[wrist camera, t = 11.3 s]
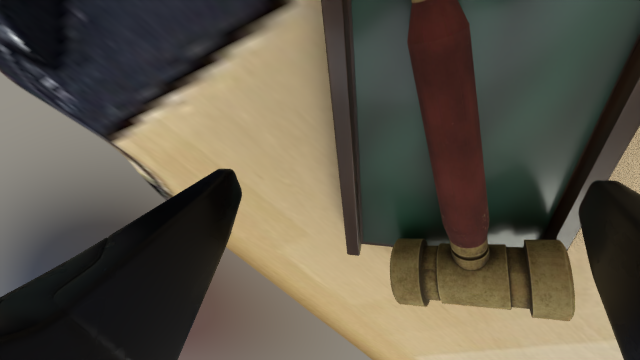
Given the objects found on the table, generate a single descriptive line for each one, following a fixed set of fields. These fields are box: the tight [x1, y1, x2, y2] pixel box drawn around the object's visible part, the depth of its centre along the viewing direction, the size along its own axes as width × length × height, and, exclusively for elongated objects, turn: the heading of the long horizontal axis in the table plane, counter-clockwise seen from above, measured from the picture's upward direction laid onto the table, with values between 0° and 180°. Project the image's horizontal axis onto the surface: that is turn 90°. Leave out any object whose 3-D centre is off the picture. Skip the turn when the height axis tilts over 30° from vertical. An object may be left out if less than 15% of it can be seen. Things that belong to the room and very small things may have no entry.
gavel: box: [390, 0, 575, 321], centre depth 18 cm, size 21×5×10 cm
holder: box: [321, 0, 640, 256], centre depth 19 cm, size 14×20×2 cm
